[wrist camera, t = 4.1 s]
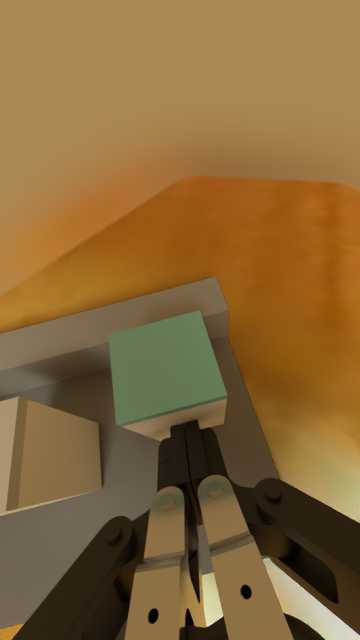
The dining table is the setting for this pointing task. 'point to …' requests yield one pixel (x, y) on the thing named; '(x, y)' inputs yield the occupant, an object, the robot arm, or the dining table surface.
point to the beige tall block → (45, 455)
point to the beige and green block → (166, 376)
